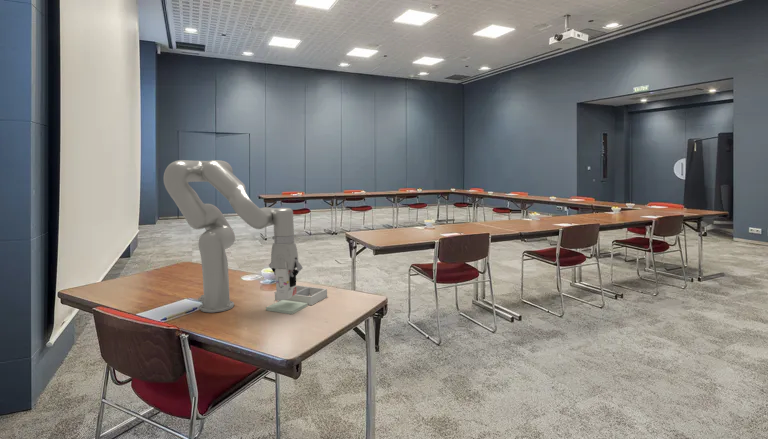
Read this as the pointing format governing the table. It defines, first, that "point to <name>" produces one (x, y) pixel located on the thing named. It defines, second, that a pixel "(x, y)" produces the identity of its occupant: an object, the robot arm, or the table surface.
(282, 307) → the board
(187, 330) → the table surface
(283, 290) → the ink cartridge box
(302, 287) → the bin
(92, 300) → the table surface
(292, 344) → the table surface
